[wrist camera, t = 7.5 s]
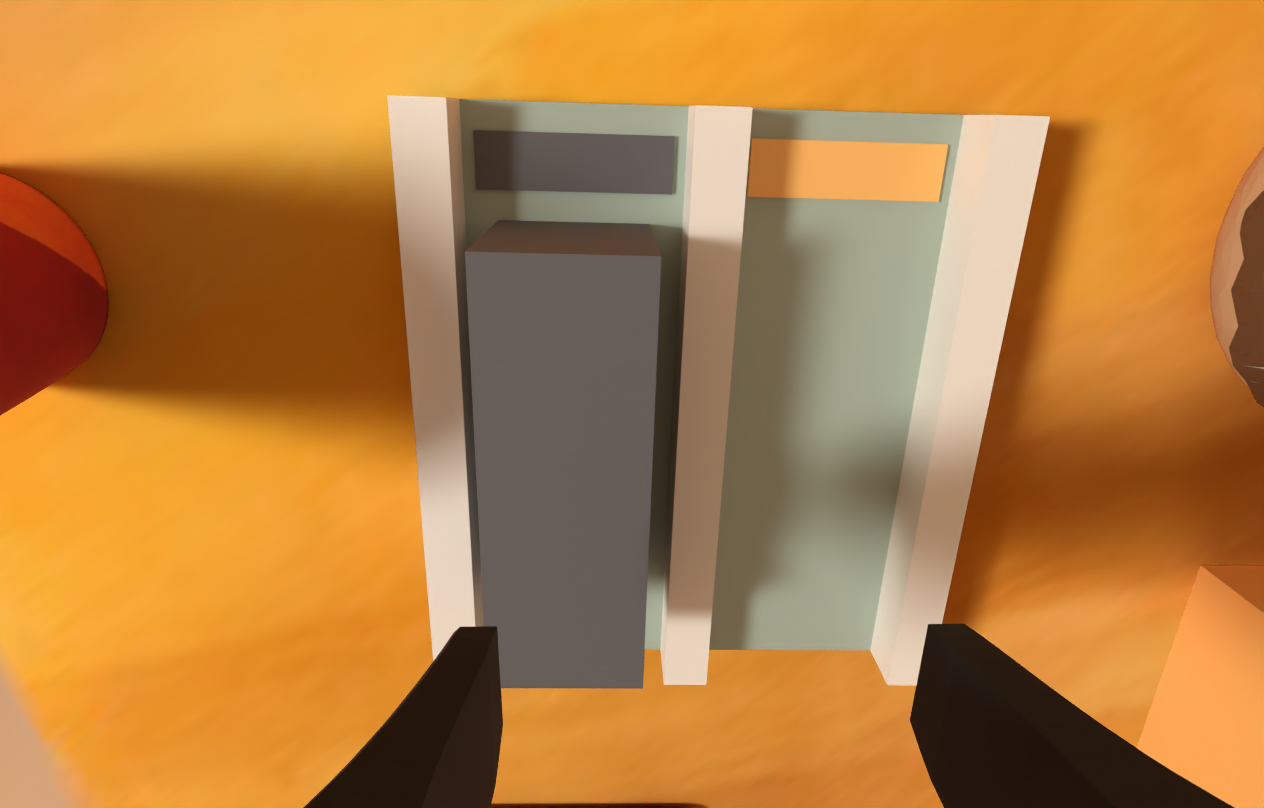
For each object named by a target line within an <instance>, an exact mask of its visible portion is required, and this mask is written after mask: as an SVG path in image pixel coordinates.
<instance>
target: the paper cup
mask: <svg viewBox="0 0 1264 808" xmlns="http://www.w3.org/2000/svg"><path fill="white" fill-rule="evenodd" d="M107 317H108V290H107V284H106V280H105V276H104V273H103V269H102V267H101V264H100V262H99V259H98V257H97V255H96V253H95V251H94V249H93V247H92V246H91V244H90V242H89V241H88V239H87V238H86V236H85V235H84V233H83V232H82V231H81V229H80V228H79V227H78V226H77V224H76V223H75V222H74V221H73V220H72V219H71V218H70V217H69V215H68V214H67V213H66V212H65V211H63V210H62V209H61V208H60V207H59V206H58V205H57V204H56V203H54V202H53V201H52V200H51V199H49V198H48V197H47V196H45V195H44V194H42V193H41V192H39V191H38V190H36V189H35V188H33V187H31V186H29V185H27V184H26V183H24V182H22V181H19V180H17V179H15V178H13V177H10V176H8V175H5V174H2V173H0V415H2V414H3V413H5V412H7V411H8V410H10V409H12V408H13V407H15V406H17V405H18V404H20V403H22V402H24V401H25V400H27V399H28V398H30V397H32V396H33V395H35V394H36V393H38V392H40V391H41V390H43V389H44V388H46V387H48V386H49V385H51V384H53V383H54V382H56V381H57V380H59V379H60V378H62V377H63V376H65V375H66V374H68V373H69V372H71V371H72V370H73V369H75V368H76V367H77V366H79V365H80V364H81V363H82V362H83V361H84V360H85V359H86V358H87V357H88V356H89V355H90V354H91V353H92V352H93V351H94V349H95V348H96V346H97V345H98V343H99V341H100V339H101V337H102V335H103V332H104V330H105V326H106V322H107Z"/></svg>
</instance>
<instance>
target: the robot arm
mask: <svg viewBox="0 0 1264 808" xmlns="http://www.w3.org/2000/svg"><path fill="white" fill-rule="evenodd" d="M910 722H911V725H912V728H913V731H914V734H915V737H916V740H917V743H918V746H919V749H920V751H921V754H922V757H923V760H924V762H925V765H926V768H927V771H928V773H929V776H930V779H931V781H932V783H933V785H934V787H935V790H936V792H937V794H938V796H939V798H940V800H941V802H942V804H943V806H944V808H1235V807H1233V806H1231V805H1229V804H1228V803H1226V802H1224V801H1222V800H1221V799H1219V798H1217V797H1215V796H1214V795H1212V794H1210V793H1209V792H1207V791H1205V790H1204V789H1202V788H1200V787H1199V786H1197V785H1195V784H1193V783H1192V782H1190V781H1188V780H1187V779H1185V778H1183V777H1182V776H1180V775H1178V774H1177V773H1175V772H1173V771H1172V770H1170V769H1168V768H1167V767H1165V766H1164V765H1162V764H1160V763H1159V762H1157V761H1156V760H1154V759H1152V758H1151V757H1149V756H1148V755H1146V754H1145V753H1143V752H1142V751H1140V750H1139V749H1137V748H1136V747H1134V746H1133V745H1131V744H1130V743H1128V742H1127V741H1125V740H1124V739H1122V738H1121V737H1119V736H1118V735H1116V734H1115V733H1113V732H1112V731H1110V730H1109V729H1107V728H1106V727H1105V726H1103V725H1102V724H1100V723H1099V722H1097V721H1096V720H1095V719H1093V718H1092V717H1090V716H1089V715H1087V714H1086V713H1085V712H1083V711H1082V710H1080V709H1079V708H1078V707H1076V706H1075V705H1074V704H1072V703H1071V702H1069V701H1068V700H1067V699H1065V698H1064V697H1063V696H1061V695H1060V694H1059V693H1057V692H1056V691H1054V690H1053V689H1052V688H1050V687H1049V686H1048V685H1046V684H1045V683H1044V682H1042V681H1041V680H1040V679H1038V678H1037V677H1036V676H1034V675H1033V674H1032V673H1030V672H1029V671H1028V670H1026V669H1025V668H1024V667H1022V666H1021V665H1020V664H1018V663H1017V662H1016V661H1014V660H1013V659H1012V658H1011V657H1009V656H1008V655H1007V654H1005V653H1004V652H1003V651H1001V650H1000V649H999V648H997V647H996V646H995V645H993V644H992V643H991V642H989V641H988V640H986V639H985V638H984V637H982V636H981V635H980V634H978V633H977V632H975V631H974V630H972V629H971V628H969V627H968V626H967V625H965V624H928V627H927V632H926V638H925V643H924V648H923V654H922V659H921V664H920V670H919V675H918V680H917V686H916V691H915V696H914V701H913V707H912V712H911V717H910ZM502 727H503V718H502V701H501V683H500V666H499V649H498V632H497V626H477V627H459V628H458V629H457V630H456V631H455V632H454V633H453V634H452V636H451V637H450V639H449V640H448V642H447V643H446V644H445V646H444V647H443V649H442V650H441V652H440V653H439V654H438V656H437V657H436V659H435V660H434V661H433V663H432V664H431V665H430V667H429V668H428V669H427V671H426V672H425V673H424V675H423V676H422V677H421V679H420V680H419V681H418V683H417V684H416V685H415V687H414V688H413V689H412V690H411V691H410V693H409V694H408V695H407V696H406V698H405V699H404V700H403V701H402V703H401V704H400V705H399V706H398V708H397V709H396V710H395V711H394V713H393V714H392V715H391V716H390V717H389V719H388V720H387V721H386V722H385V723H384V724H383V726H382V727H381V728H380V729H379V730H378V731H377V732H376V733H375V735H374V736H373V737H372V738H371V739H370V740H369V741H368V742H367V743H366V745H365V746H364V747H363V748H362V749H361V750H360V751H359V752H358V753H357V755H356V756H355V757H354V758H353V759H352V760H351V761H350V762H349V763H348V764H347V765H346V766H345V767H344V768H343V769H342V770H341V771H340V773H339V774H338V775H337V776H336V777H335V778H334V779H333V780H332V781H331V782H330V783H329V784H328V785H327V786H326V787H325V788H324V789H323V790H321V791H320V792H319V793H318V794H317V795H316V796H315V797H314V798H313V799H312V800H311V801H310V802H309V803H308V804H307V805H306V806H305V807H304V808H490V806H491V802H492V798H493V793H494V789H495V784H496V776H497V768H498V761H499V753H500V744H501V736H502Z"/></svg>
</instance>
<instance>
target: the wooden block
mask: <svg viewBox="0 0 1264 808" xmlns="http://www.w3.org/2000/svg"><path fill="white" fill-rule="evenodd" d="M1137 749H1139V750H1140V751H1142V752H1143V753H1145V754H1146V755H1148V756H1149V757H1151V758H1152V759H1154V760H1156V761H1157V762H1159V763H1160V764H1162V765H1164V766H1165V767H1167V768H1168V769H1170V770H1172V771H1173V772H1175V773H1177V774H1178V775H1180V776H1182V777H1183V778H1185V779H1187V780H1188V781H1190V782H1192V783H1193V784H1195V785H1197V786H1199V787H1200V788H1202V789H1204V790H1205V791H1207V792H1209V793H1210V794H1212V795H1214V796H1215V797H1217V798H1219V799H1221V800H1222V801H1224V802H1226V803H1228V804H1229V805H1231V806H1233V807H1235V808H1264V566H1241V565H1200V568H1199V571H1198V574H1197V577H1196V580H1195V582H1194V585H1193V588H1192V591H1191V594H1190V597H1189V600H1188V602H1187V605H1186V608H1185V611H1184V614H1183V617H1182V620H1181V623H1180V625H1179V628H1178V631H1177V634H1176V637H1175V640H1174V643H1173V645H1172V648H1171V651H1170V654H1169V657H1168V660H1167V663H1166V666H1165V668H1164V671H1163V674H1162V677H1161V680H1160V683H1159V686H1158V689H1157V691H1156V694H1155V697H1154V700H1153V703H1152V706H1151V709H1150V711H1149V714H1148V717H1147V720H1146V723H1145V726H1144V729H1143V732H1142V734H1141V737H1140V740H1139V743H1138V746H1137Z"/></svg>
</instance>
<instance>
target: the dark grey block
mask: <svg viewBox="0 0 1264 808" xmlns="http://www.w3.org/2000/svg"><path fill="white" fill-rule="evenodd" d="M465 264H466V284H467V304H468V323H469V343H470V363H471V383H472V402H473V422H474V442H475V462H476V482H477V501H478V521H479V541H480V561H481V580H482V600H483V620H484V626H497V632H498V649H499V666H500V683H501V688H643V673H644V650H645V626H646V603H647V580H648V556H649V533H650V509H651V486H652V463H653V439H654V416H655V392H656V369H657V345H658V322H659V299H660V275H661V254H660V252H659V249H658V246H657V244H656V241H655V238H654V236H653V233H652V230H651V228H650V225H649V224H634V223H595V222H556V221H517V220H498V221H497V222H496V223H495V224H494V225H493V226H492V227H491V228H490V229H489V230H487V231H486V232H485V233H484V234H483V235H482V236H481V237H480V238H479V239H478V240H477V241H476V242H475V243H474V244H472V245H471V246H470V247H469V248H468V249H467V250H466V251H465Z"/></svg>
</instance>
